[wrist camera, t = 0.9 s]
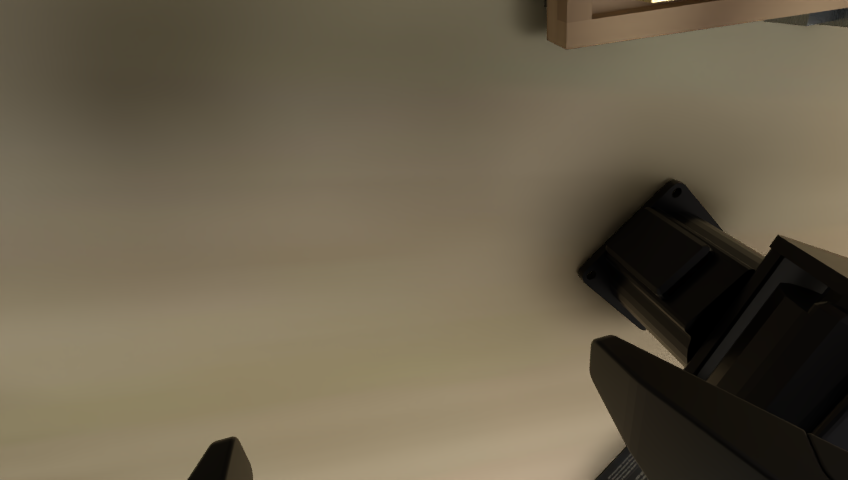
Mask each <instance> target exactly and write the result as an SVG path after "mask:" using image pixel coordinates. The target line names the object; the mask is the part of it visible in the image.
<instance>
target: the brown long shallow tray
mask: <svg viewBox="0 0 848 480" xmlns="http://www.w3.org/2000/svg"><path fill="white" fill-rule="evenodd" d="M842 8H848V0H668V1H661V2H655V3H649V2H643V1H637V0H547V40H548V41H550V42H552V43H554V44H556V45H558V46H560V47H562V48H564V49H566V50H567V49H573V48H580V47H587V46H593V45H600V44H607V43H614V42H620V41H627V40H634V39H640V38H647V37H654V36H661V35H667V34H674V33H681V32H687V31H694V30H701V29H708V28H714V27H721V26H728V25H734V24H741V23H748V22H755V21H761V20H768V19H775V18H781V17H788V16H795V15H802V14H808V13H815V12H822V11H829V10H835V9H842Z"/></svg>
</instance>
